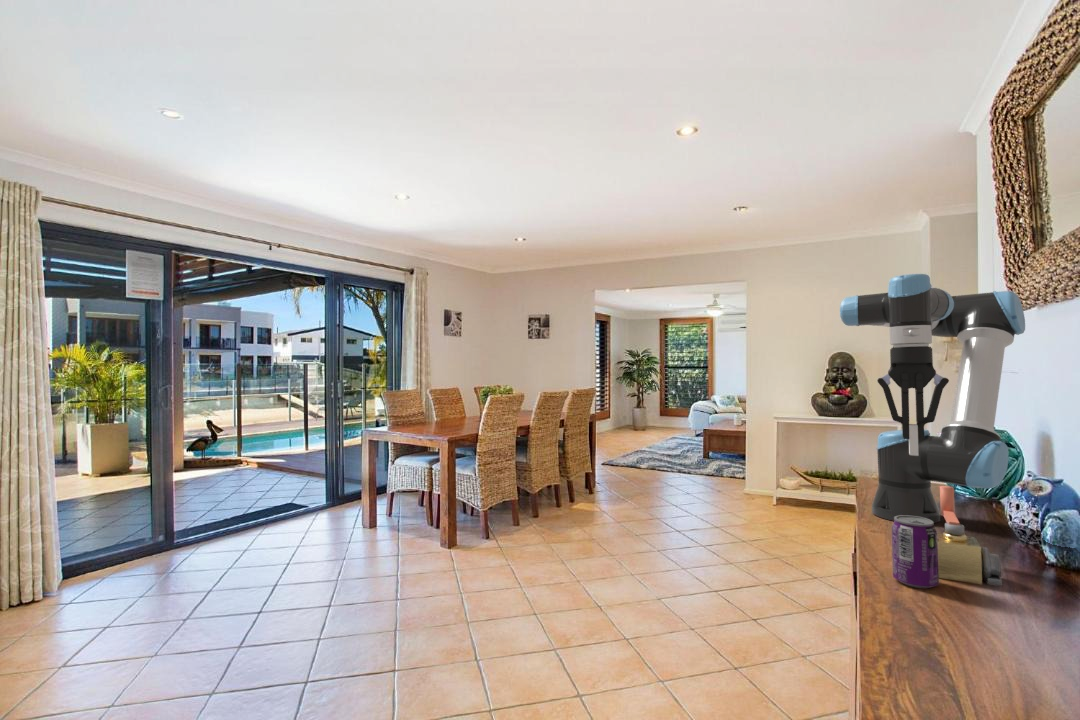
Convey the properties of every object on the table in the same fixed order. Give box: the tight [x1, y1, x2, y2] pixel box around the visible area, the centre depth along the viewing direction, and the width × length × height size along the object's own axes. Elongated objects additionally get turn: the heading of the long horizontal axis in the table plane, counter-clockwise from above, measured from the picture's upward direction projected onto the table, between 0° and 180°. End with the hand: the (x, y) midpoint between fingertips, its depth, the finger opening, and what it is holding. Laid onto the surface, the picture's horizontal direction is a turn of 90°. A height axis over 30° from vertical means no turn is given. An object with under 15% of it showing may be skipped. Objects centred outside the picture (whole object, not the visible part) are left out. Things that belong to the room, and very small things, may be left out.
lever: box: [939, 485, 965, 535], centre depth 107 cm, size 13×3×7 cm, turn 148°
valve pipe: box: [937, 531, 1003, 587], centre depth 103 cm, size 6×13×8 cm, turn 58°
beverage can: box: [891, 515, 940, 589], centre depth 100 cm, size 7×7×12 cm
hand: (913, 454), depth 114 cm, fingers closed
